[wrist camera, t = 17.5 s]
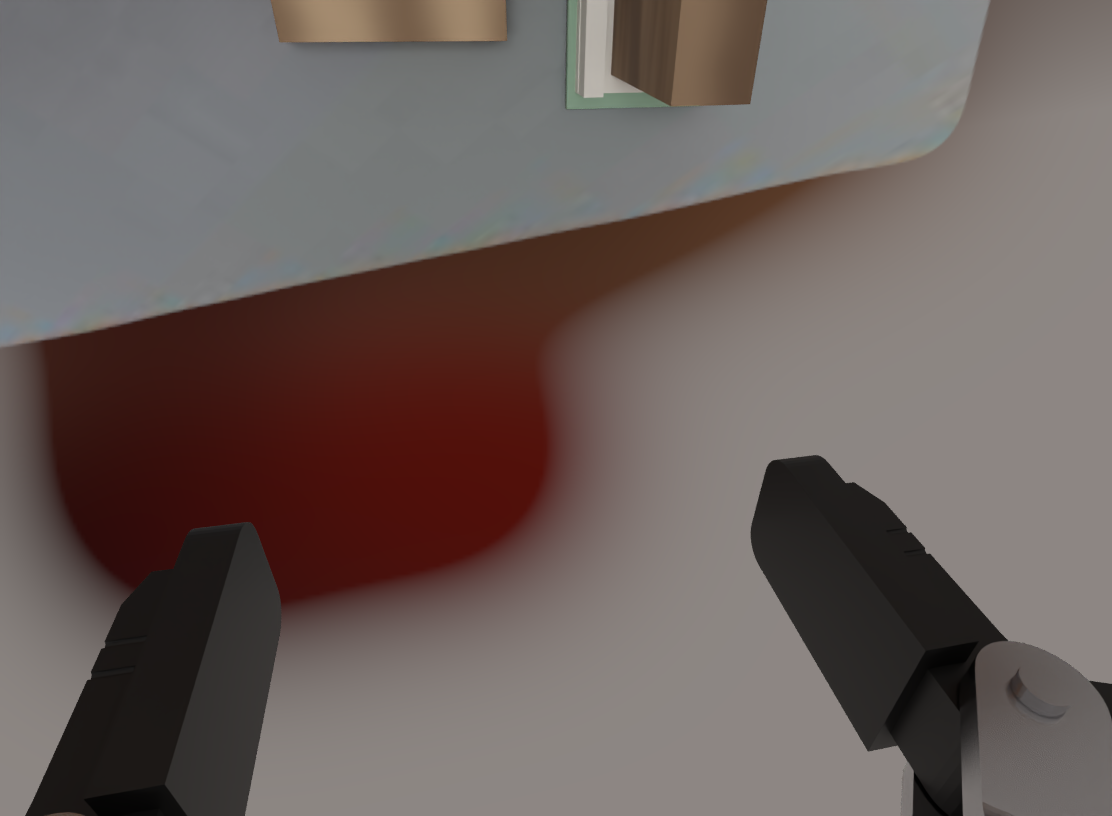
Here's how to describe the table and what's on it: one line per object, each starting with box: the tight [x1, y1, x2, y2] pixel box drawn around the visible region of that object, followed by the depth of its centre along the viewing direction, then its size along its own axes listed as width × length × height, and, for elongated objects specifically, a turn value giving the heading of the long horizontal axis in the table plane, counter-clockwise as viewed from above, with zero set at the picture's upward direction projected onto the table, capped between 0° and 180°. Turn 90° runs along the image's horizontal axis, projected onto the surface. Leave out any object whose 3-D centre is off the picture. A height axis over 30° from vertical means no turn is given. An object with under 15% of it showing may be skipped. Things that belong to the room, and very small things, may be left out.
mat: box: [566, 0, 682, 109], centre depth 38 cm, size 9×10×1 cm
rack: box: [575, 0, 643, 98], centre depth 37 cm, size 8×8×2 cm
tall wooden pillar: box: [611, 0, 767, 106], centre depth 33 cm, size 4×6×11 cm, turn 0°
